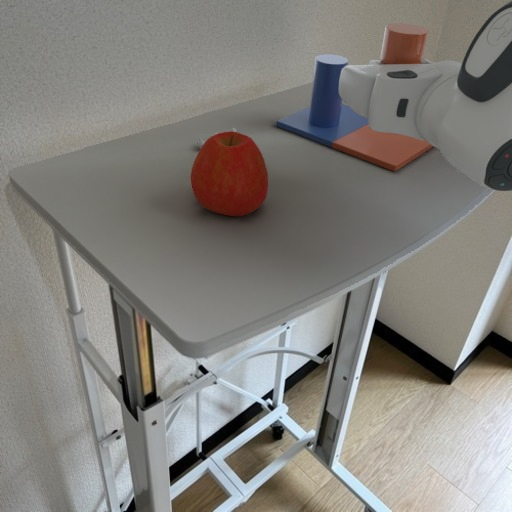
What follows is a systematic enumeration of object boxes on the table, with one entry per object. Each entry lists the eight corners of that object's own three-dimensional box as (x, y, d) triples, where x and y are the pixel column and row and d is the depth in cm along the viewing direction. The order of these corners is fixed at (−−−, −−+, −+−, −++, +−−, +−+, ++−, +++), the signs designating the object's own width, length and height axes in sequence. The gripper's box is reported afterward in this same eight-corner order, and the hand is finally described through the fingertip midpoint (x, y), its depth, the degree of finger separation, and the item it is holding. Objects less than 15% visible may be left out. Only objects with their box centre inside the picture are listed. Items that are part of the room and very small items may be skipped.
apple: (187, 224, 71) (185, 149, 65) (195, 185, 79) (194, 115, 73) (266, 228, 71) (272, 153, 65) (266, 189, 79) (271, 120, 73)
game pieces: (200, 151, 88) (200, 140, 87) (193, 147, 89) (193, 135, 88) (240, 140, 92) (240, 129, 91) (233, 136, 94) (233, 125, 92)
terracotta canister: (417, 110, 78) (436, 29, 72) (398, 121, 75) (416, 36, 68) (383, 100, 81) (398, 21, 74) (363, 109, 77) (377, 27, 71)
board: (440, 142, 96) (441, 137, 95) (394, 171, 86) (396, 166, 85) (327, 104, 108) (328, 99, 108) (276, 126, 98) (276, 120, 98)
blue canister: (345, 122, 99) (354, 59, 92) (327, 130, 95) (336, 66, 89) (320, 113, 101) (327, 52, 95) (302, 121, 98) (308, 58, 91)
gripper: (532, 73, 64) (471, 40, 75) (368, 77, 60) (328, 42, 71) (514, 124, 68) (459, 86, 79) (359, 131, 64) (323, 90, 75)
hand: (396, 65), depth 75 cm, fingers closed on terracotta canister, 5 cm apart
